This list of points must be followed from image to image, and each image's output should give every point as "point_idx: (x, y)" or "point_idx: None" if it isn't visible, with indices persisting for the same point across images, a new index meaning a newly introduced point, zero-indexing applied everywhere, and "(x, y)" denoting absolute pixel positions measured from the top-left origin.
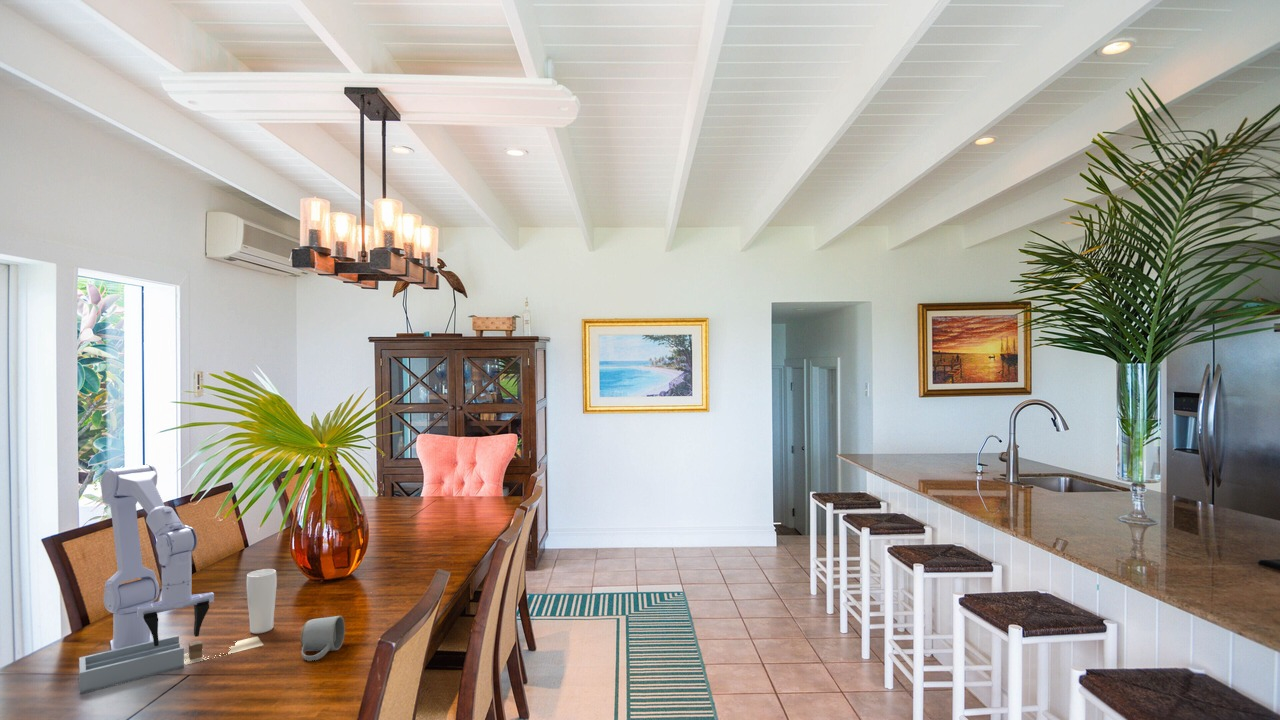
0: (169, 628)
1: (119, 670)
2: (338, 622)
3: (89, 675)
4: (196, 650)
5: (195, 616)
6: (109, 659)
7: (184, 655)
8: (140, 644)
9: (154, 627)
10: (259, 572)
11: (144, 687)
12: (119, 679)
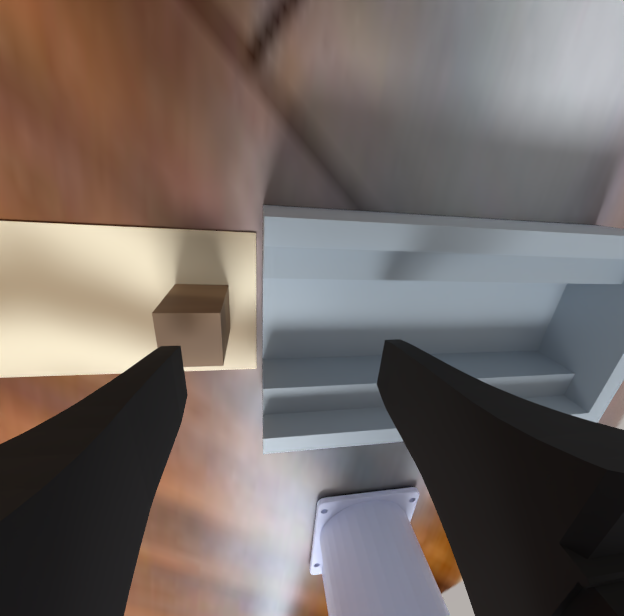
0: (260, 579)
1: (543, 227)
2: None
3: None
4: (193, 300)
5: (124, 513)
6: (506, 387)
7: (244, 353)
8: None
9: (512, 409)
10: None
11: (449, 74)
12: (506, 221)
